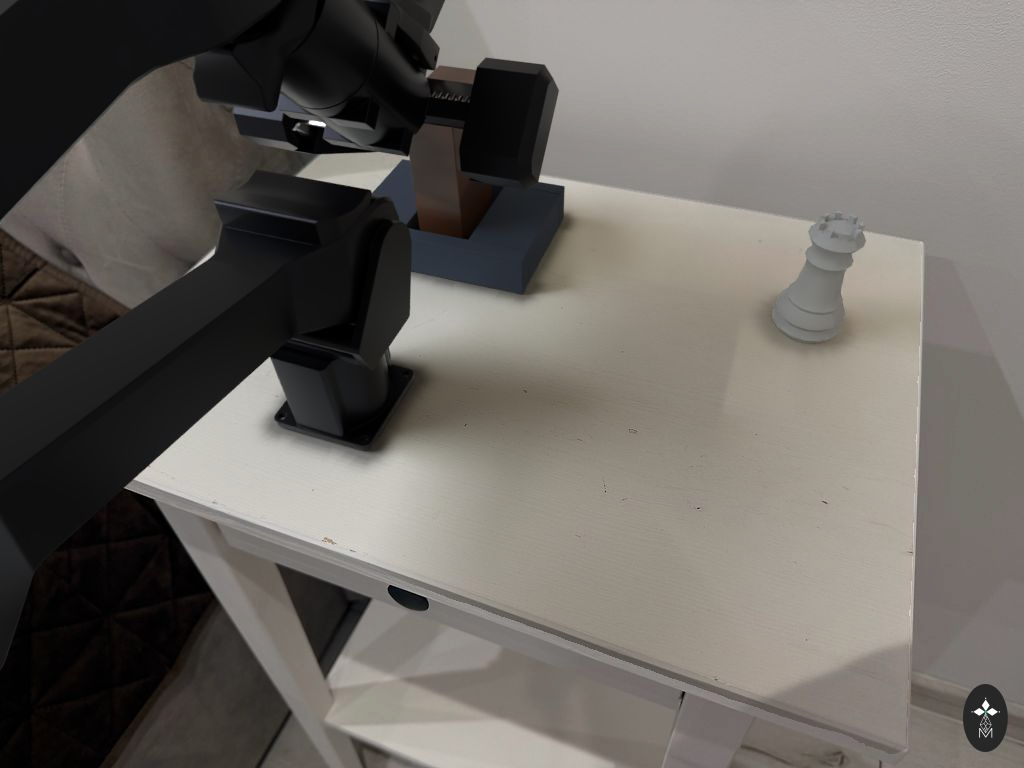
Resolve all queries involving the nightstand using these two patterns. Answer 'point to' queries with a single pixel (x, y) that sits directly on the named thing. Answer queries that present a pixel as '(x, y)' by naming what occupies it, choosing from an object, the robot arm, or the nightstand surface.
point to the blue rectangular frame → (483, 234)
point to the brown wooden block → (446, 175)
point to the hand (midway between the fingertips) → (441, 153)
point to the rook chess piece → (820, 281)
